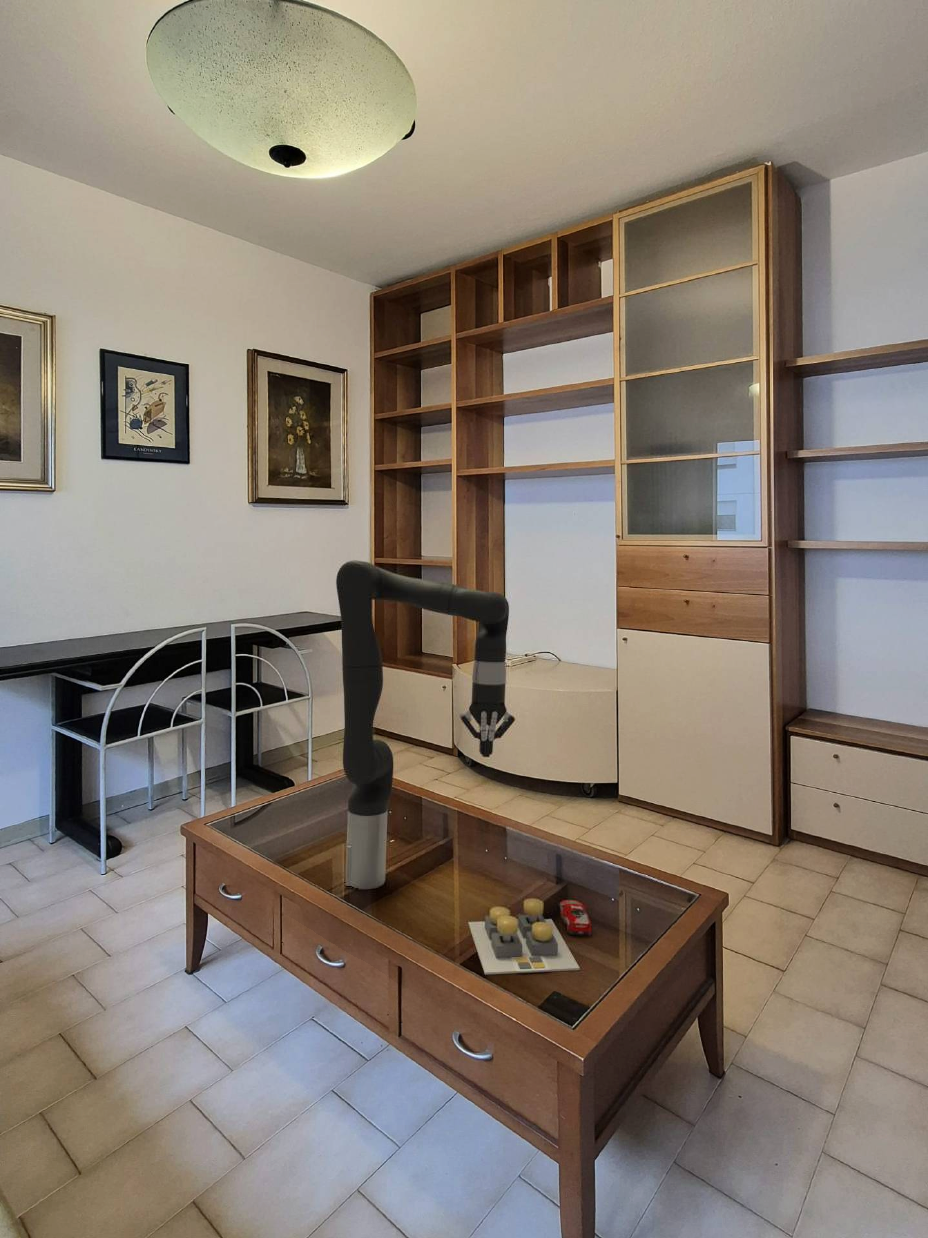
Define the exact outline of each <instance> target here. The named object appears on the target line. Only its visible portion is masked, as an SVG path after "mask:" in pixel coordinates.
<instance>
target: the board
mask: <svg viewBox="0 0 928 1238" xmlns="http://www.w3.org/2000/svg"><path fill="white" fill-rule="evenodd" d="M517 920H518V931H517V933H515V934H512V935H511V942H509V943H503V934H502V933H500V932H498V931H497V925H495V924H494V923H492V922H491V921H490V915H485V916H484V921H468V924H467V925H468V927H469V930H470V934H471V936H472V939H473V942H474V945H475V949H476V951H477V955H478V958H479V961H480V964H481V967H482V970H483V973H484V975H502V974H503V975H504V974H505V975H506V974H507V975H508V974H524V973H525V974H527V973H530V974H531V973H546V972H547V973H550V972H567V971H580V969H581V968H580V966H579V965H578V962H577V961H576V959H575V957H574V956H573V954H572V952H571V951H570V949H569V947H568V945H567V944H566V942H565V940H564V938H563V937H562V935H561V933H560V931H559V930H558V928H557V926H556V924H555V923H554V921H553V920H552V918H548V919H547V918H546V919H545V918H544V916H543V914H542V915H539V916H537V922H545V923H548V924H550V925H552V927H553V932H552V939H551V940H548V941H538V940H536V939H534V938H533V937H532V925H533V924H534V923H533V924H529V915H527V914H518V916H517Z"/></svg>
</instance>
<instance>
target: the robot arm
mask: <svg viewBox="0 0 928 1238" xmlns="http://www.w3.org/2000/svg"><path fill="white" fill-rule="evenodd" d="M335 585H336V592H337V593H336V594H337V599H338V605H339V606H338V607H339V612H340V621H341V658H342V659H341V662H342V663H341V666H342V667H341V668H342V686H343V707H344V708H343V709H344V710H343V711H344V713H343V714H344V715H343V716H344V728H343V729H344V730H343V731H344V732H343V744H342V746H343V747H342V749H343V750H342V767H343V772H344V774H345V776H346V779H347V780H348V781H349V783H351V784H353V785H355V786H356V787H355V789H354V791H353V792H352V793H351V795H350V796H349V798H348V799H347V828H346V851H345V852H346V853H345V855H346V857H345V882H346V883H345V885H347V886H352V887H354V888H353V889H356V888H358V889H357V890H371V889H372V890H373V889H377V888H379V887H381V886H383V885H384V884H385V883H386V882H385V881H386V867H387V866H386V863H387V861H386V859H387V858H386V857H387V836H388V835H387V833H388V806H389V801H390V799H391V796H392V790H393V778H394V756H393V753H392V750H391V747H389V745H388V743H386V742H385V741H384V740H381V739H377V738H376V739H374V720H375V717H376V716H375V715H376V711H377V709H378V705H379V703H380V700H381V697H382V692H383V688H384V685H383V684H384V674H383V673H384V672H383V668H384V667H383V658H382V657H383V656H382V653H381V647H380V644H379V641H378V637H377V634H376V632H375V628H374V622H373V601H375V600H377V601H390V602H398V603H401V604H402V603H403V604H407V605H409V606H413V607H415V608H420V609H422V610H425V611H428V612H433V613H437V614H444V615H446V616H447V615H448V616H452V617H453V616H454V617H460V618H464V619H466V620H470V621H473V622H478V632H477V636H476V638H475V644H474V658H473V659H474V661H473V667H472V675H471V679H472V681H471V682H472V686H471V703H470V704H469V707H468V711H466V712H465V713H461V714H460V715H459V718H460V720H461V721H462V723H463V724H464V725H465V727H466V728H467V729H468V731H469V732H470V734H471V735H472V736H473V738H474V739H478V740H479V746H478V747H479V750H478V751H479V753H480V755H481V757H483V758H490V757H491V756H490V755H493V752H494V751H493V749H494V748H493V747H494V740H496V739H501V738H502V736H504V735H505V733H506V732H507V731H508V730H509V728H510V727H511V726H512V725H513V724H514V723H515V720H516V718H515V717H514V716H513V715H512V714H510V713H509V712H508V710H507V706H506V682H507V681H506V678H507V668H506V667H507V665H506V653H507V652H506V651H507V644H506V643H507V641H506V640H507V639H506V638H507V633H508V624H509V618H510V616H509V615H510V605H509V602H508V600H507V598H506V597H505V596H504V595H503V594H501V593H499V592H495V591H494V592H493V591H492V592H489V591H483V590H478V589H477V590H476V589H471V588H466V587H465V586H462V585H459V584H458V585H457V584H454V583H449V582H444V581H443V582H442V581H439V580H438V581H437V580H434V579H433V580H431V579H424V578H417V577H411V576H406V575H401V574H399V573H398V574H397V573H394V572H391V571H388V570H386V569H383V568H381V567H379V566H376V565H374V564H373V563H370V562H368V561H364V560H355V559H353V560H349V561H346V562H345V563H343V564H342V565H341V566H340V568H339V569H338V570H337V575H336V579H335ZM472 718H473V719H474V720H475V722H476V723H477V724H478V731H477V729H475V727H474V725H472V723H471V722H472V720H473V719H472ZM501 720H502V723H501V724H500V725H499V726H498V727H497V725H498V724H499V722H501ZM496 727H497V729H496ZM345 885H344V886H345ZM352 887H351V888H352Z"/></svg>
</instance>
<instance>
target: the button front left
mask: <svg viewBox="0 0 928 1238" xmlns="http://www.w3.org/2000/svg"><path fill="white" fill-rule="evenodd" d="M497 931H498V932H500V933H502V934H503V943H509V942H511V935H512V934H515V933H517V931H518V918H516V917H515V916H512V915H510V916H500V917H499V918H498V919H497Z"/></svg>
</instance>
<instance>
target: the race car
mask: <svg viewBox="0 0 928 1238" xmlns="http://www.w3.org/2000/svg"><path fill="white" fill-rule="evenodd" d="M586 908H587V905H584V904H583V903H581V902H580V901H577V900H573V899H565V900H561V902H559V903H558V912H559V914H560V916H561V920H562V923H563V925H564V927H565V930H566V932H567V933H568V934H570V935H574V936H575V935H577V936H589V935H591V934H592V924H591V923H592V922H591V920H590V918H589V915H588V913H587V910H586Z"/></svg>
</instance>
